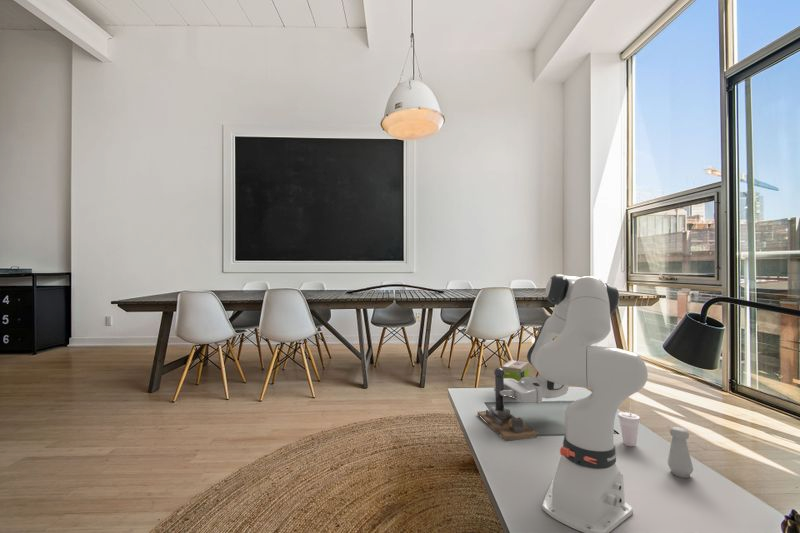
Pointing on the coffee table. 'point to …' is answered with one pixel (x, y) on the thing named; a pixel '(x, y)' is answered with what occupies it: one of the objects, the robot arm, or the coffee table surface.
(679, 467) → the salt shaker
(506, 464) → the coffee table surface
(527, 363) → the tea box
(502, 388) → the handle slide
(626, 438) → the smoothie
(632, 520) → the coffee table surface
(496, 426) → the base
